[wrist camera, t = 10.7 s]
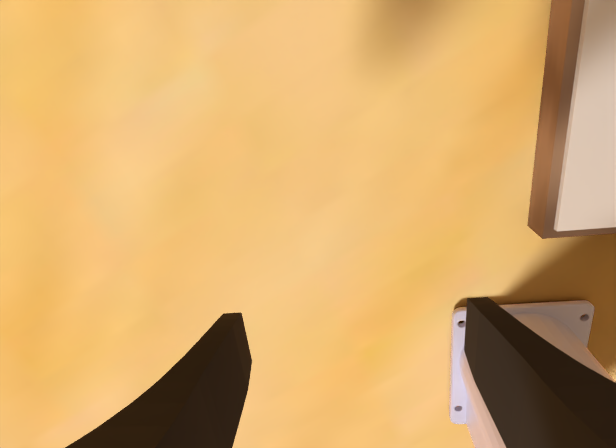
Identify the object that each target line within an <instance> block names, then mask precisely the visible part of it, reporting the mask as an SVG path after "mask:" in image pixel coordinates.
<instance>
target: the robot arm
mask: <svg viewBox="0 0 616 448" xmlns="http://www.w3.org/2000/svg"><path fill="white" fill-rule="evenodd" d="M584 314H585V315H584ZM582 315H584V316H583V317H581V316H582ZM593 315H594V306H593V305H592V304H591V303H590V302H589V301H586V300H579V301H561V302H543V303H525V304H507V305H498V304H496V303H495V302H494V301H492V300H491V299H489V298H488V297H483V298H467V307H459V308H456V309H455V310H454V311H453V313H452V338H451V372H450V406H449V416H450V420H451V422H452V423H455V424H467V427H468V430H469V432H470V435H471V438H472V441H473V444H474V447H475V448H616V381H615V380H614V379H613V378H612V377H611V376H610V374H609V373H608V372H607V371H606V370H605V369H604V368H603V366H602V365H601V364H600V363H599V362H598V361H597V359H596V358H595V357H594V356H593V355H592V354H591V352H590V351H589V350H588V349H587V345H588V340H589V335H590V330H591V325H592V320H593ZM459 321H464V322H463V323H461V324H459V323H458V322H459ZM251 364H252V359H251V354H250V350H249V345H248V341H247V336H246V332H245V327H244V322H243V318H242V313H227V314H223V315H222V316H221V317H220V318H219V319H218V320H217V321H216V322H215V323H214V324H213V325H212V327H211V328H210V329H209V330H208V331H207V332H206V333H205V334H204V335H203V336H202V337H201V339H200V340H199V341H198V342H197V343H196V344H195V345H194V346H193V347H192V348H191V349H190V350H189V351H188V352H187V353H186V355H185V356H184V357H183V358H181V359H180V360H179V361H178V362H177V363H176V364H175V365H174V366H173V367H172V368H171V369H170V370H169V371H168V372H167V373H166V374H165V375H164V376H163V377H162V378H161V379H160V380H158V381H157V382H156V383H155V384H154V385H153V386H152V387H150V388H149V389H148V390H147V391H146V392H144V393H143V394H142V395H141V396H139V397H138V398H137V399H136V400H135V401H133V402H132V403H131V404H129V405H128V406H127V407H125V408H124V409H122V410H121V411H120V412H118V413H117V414H116V415H114V416H113V417H111V418H110V419H109V420H107V421H106V422H104V423H103V424H102V425H100V426H99V427H97V428H96V429H94V430H93V431H91V432H90V433H88V434H86V435H85V436H83V437H82V438H80V439H79V440H77V441H75V442H74V443H72V444H70V445H69V446H67V447H65V448H232V446H233V443H234V439H235V435H236V432H237V428H238V425H239V421H240V417H241V414H242V410H243V406H244V402H245V399H246V395H247V391H248V385H249V379H250V371H251ZM456 406H458V407H456Z"/></svg>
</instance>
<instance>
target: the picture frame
mask: <svg viewBox="0 0 616 448" xmlns="http://www.w3.org/2000/svg"><path fill="white" fill-rule="evenodd" d="M528 226H529V227H530V228H531V229H532V230H533V231H534V232H535V233H537V234H538V235H539V236H540V237H541V238H542V239H545V238H558V237H572V236H586V235H600V234H613V233H616V0H552V3H551V13H550V22H549V31H548V40H547V50H546V59H545V68H544V78H543V87H542V96H541V106H540V115H539V124H538V134H537V143H536V152H535V162H534V171H533V180H532V190H531V199H530V208H529V217H528Z"/></svg>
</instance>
